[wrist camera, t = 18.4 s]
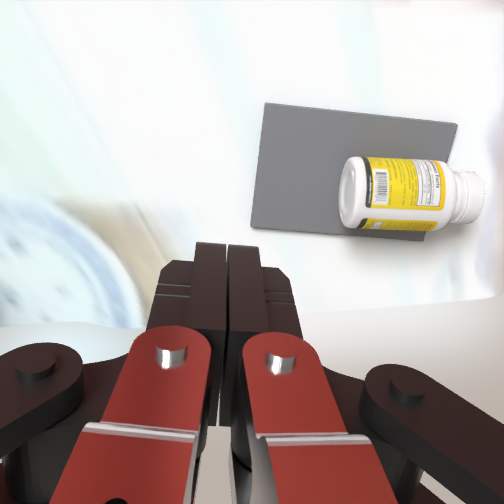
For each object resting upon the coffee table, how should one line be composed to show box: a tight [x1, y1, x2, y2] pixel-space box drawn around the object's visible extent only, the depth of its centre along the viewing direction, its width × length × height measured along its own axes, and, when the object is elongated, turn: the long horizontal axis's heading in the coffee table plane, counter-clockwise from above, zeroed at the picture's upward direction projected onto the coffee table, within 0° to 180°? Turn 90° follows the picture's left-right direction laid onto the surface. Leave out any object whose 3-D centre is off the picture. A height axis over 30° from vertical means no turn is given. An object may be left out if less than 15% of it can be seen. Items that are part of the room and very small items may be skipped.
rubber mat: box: [250, 103, 458, 241], centre depth 39 cm, size 15×10×1 cm, turn 83°
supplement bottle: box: [338, 157, 484, 231], centre depth 36 cm, size 5×5×10 cm
